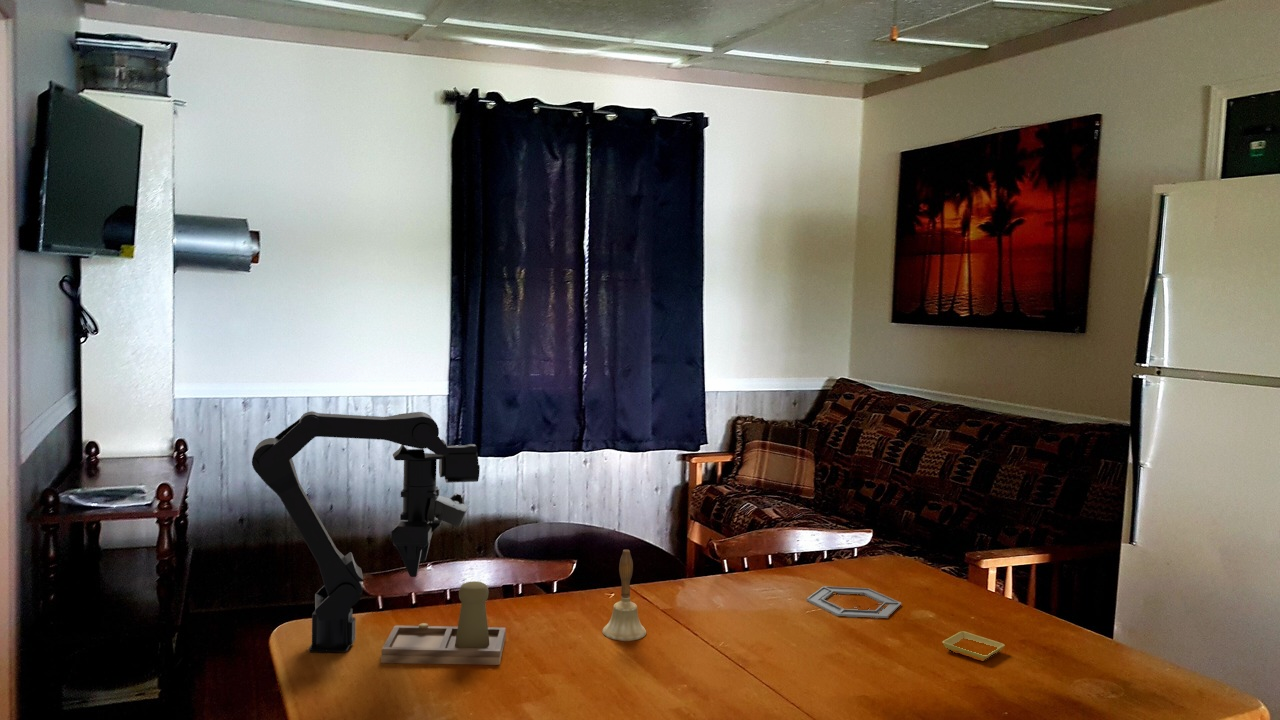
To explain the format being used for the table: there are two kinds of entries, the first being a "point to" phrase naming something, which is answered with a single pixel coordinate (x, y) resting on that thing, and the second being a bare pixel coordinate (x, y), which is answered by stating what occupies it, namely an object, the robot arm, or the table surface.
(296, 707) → the table surface
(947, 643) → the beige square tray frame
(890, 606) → the grey hexagonal frame
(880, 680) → the table surface
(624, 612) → the hand bell
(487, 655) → the divided tray
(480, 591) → the olive pepper mill
